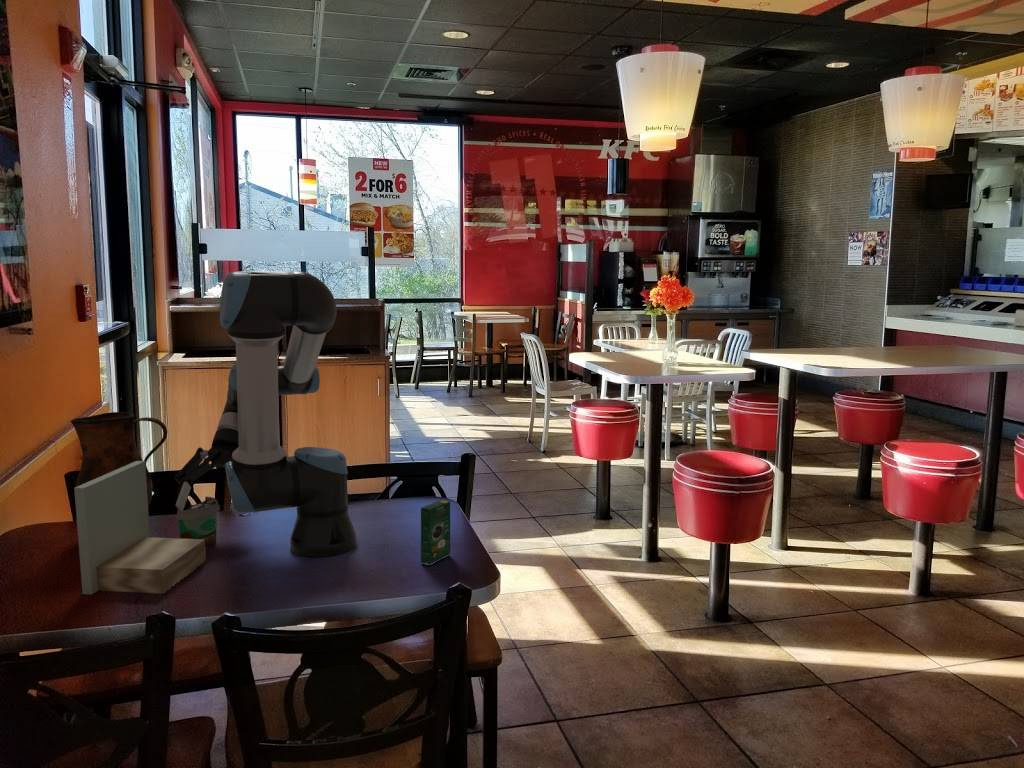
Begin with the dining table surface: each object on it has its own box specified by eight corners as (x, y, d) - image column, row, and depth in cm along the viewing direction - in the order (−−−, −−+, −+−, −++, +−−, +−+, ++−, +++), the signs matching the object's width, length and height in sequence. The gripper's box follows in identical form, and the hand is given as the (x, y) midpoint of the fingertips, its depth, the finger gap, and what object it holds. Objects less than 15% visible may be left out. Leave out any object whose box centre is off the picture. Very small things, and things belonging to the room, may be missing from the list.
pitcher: (89, 527, 200) (81, 410, 196) (180, 522, 205) (173, 407, 200) (67, 550, 184) (57, 423, 180) (166, 544, 189) (158, 419, 184)
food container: (202, 554, 182) (200, 512, 181) (178, 552, 183) (175, 510, 182) (231, 537, 194) (229, 497, 192) (208, 535, 195) (206, 495, 194)
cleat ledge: (206, 560, 178) (204, 539, 178) (163, 593, 161) (162, 569, 160) (146, 558, 180) (145, 537, 179) (98, 590, 162) (96, 566, 161)
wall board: (151, 555, 182) (145, 461, 178) (92, 594, 160) (83, 488, 157) (142, 554, 182) (136, 460, 178) (82, 594, 160) (74, 487, 157)
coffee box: (441, 553, 184) (440, 498, 182) (451, 555, 182) (451, 500, 180) (419, 564, 177) (419, 507, 175) (430, 567, 175) (429, 509, 173)
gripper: (283, 443, 204) (261, 518, 192) (190, 441, 207) (163, 514, 194) (274, 427, 198) (251, 503, 186) (178, 425, 201) (149, 500, 188)
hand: (206, 509), depth 190 cm, fingers open, 13 cm apart
